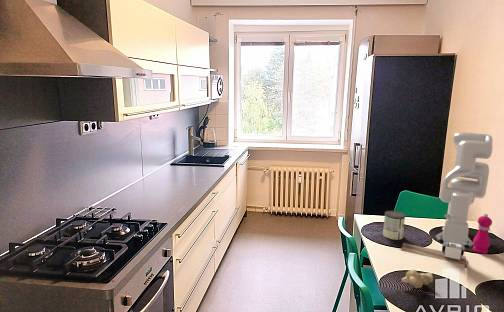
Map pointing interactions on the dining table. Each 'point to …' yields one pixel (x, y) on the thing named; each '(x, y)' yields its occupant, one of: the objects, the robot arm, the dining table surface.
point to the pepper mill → (482, 235)
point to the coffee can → (394, 225)
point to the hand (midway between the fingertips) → (452, 254)
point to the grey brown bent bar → (432, 253)
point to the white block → (453, 250)
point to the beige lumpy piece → (417, 278)
